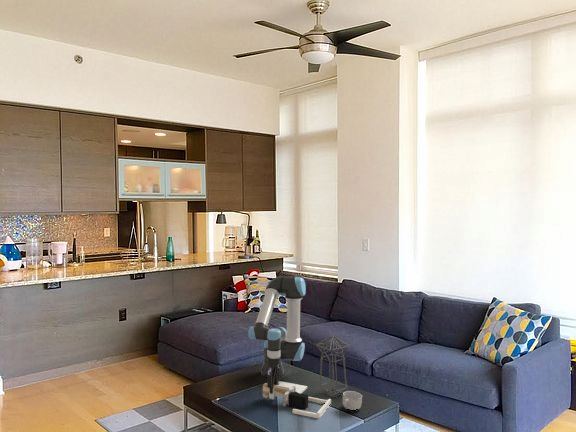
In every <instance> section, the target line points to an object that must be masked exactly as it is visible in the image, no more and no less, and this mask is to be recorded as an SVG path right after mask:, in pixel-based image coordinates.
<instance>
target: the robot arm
mask: <svg viewBox="0 0 576 432" xmlns="http://www.w3.org/2000/svg"><path fill="white" fill-rule="evenodd" d="M306 287H307V286H306V281H305V279H304V278H303V277H299V276H284V275H279V276H276V277H274V278H273V279H272V280H270V281H269V282H268V284H267V285H266V287H265V289H264V297H263V300H262V303H261V305H260V309H259V312H258V314H257V318H256V321H255V324H254V325H253V326H252V325H251V326H249V329H248V331H247V333H248V338H249V339H251V340H256V341H258V340H259V341H264V343H263V363H262V367H261V369H260V375H261V376H262V377H265V378H266V380H267V381H266V383H267V387H268V388H270V392H269V397H268V398H269V399H270V400H275V398H277V397H278V395H276V394H274V385H279V381H280V378H281V377H283V376H284V375H285V370H284V366H283V363H282V360H283V361H284V360H285V361H292V362H296V361H297V362H300V361H302V359H303V357H304V353H305V350H306V349H305V348H306V347H305V346H306V345H305V344H306V343H305V342H303V339H302V337H301V335H300V333H301V332H300V331H301V300H303V297H304V296H305V295H306V294H307V292H306V291H307V290H306V289H307V288H306ZM280 295H284V298H285V299H286V328H285V327H283V326H279V327H278V326H277V327H269V326H268V325H269V324H270V323H269V322H270V319H271V316H272V314H273V313H272V312H273V310H274V306H275V304H276V301H277V298H279V297H280Z"/></svg>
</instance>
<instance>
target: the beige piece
mask: <svg viewBox="0 0 576 432" xmlns="http://www.w3.org/2000/svg"><path fill="white" fill-rule="evenodd" d="M295 391H296V387H295V386H293V387H292V388H290V389H289V388H288V387H283V386H277V385H274V394H276V395H277V396H282V407H287V406H288V394H289V393H291V392H295ZM269 392H270V388H268V387H267V382H265V383H264V384H262V397H263V398H265V399H268V398H269Z"/></svg>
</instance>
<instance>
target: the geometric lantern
mask: <svg viewBox="0 0 576 432" xmlns="http://www.w3.org/2000/svg"><path fill="white" fill-rule="evenodd" d="M315 346H316V348H317V349H318V350H319V351H320V352H321V355H320V366H319V368H320V371H319V374H320V375H319V388H321V389H322V390H323V391H324V392H325V393H326V392H327V394H328V393H329V394H331V395H333V397H334V396H335V397H336V394H340V393H344V392H345V390H347V389H348V387H347V373H346V372H347V370H346V357H345V356H344V351H345V350H346V349H348V348H349V347H350V346H351V344H349V343H347V342H346V341H345V340H342V339H341V338H339V337H337V336H336V335H330V336H329V337H327V338H325V339H322V340H321V341H319V342H317V343H315ZM342 346H343V347H342ZM332 347H333V348H332ZM325 350H326V351H325ZM340 350H341V351H340ZM332 351H333V352H334V353H333V352H332ZM328 352H329V353H330V354H328ZM324 354H325V355H324ZM339 354H341V355H339ZM329 356H331V359H330V357H329ZM337 356H338V357H340V358H341V359H337ZM325 357H326V358H327V359H326V358H325ZM323 360H325V361H327V362H328V363H329V365H328V366H329V371H328V372H329V376H328V377H329V381H328V382H325V383H322V375H323V374H322V372H323ZM339 361H342V363H343V372H344V384H343V383H341V382H339V381H338V380H337V379H338V378H337V372H335V371H337V362H339ZM334 365H335V366H334ZM334 367H335V370H334ZM331 379H332V380H331ZM327 384H329V385H328V386H329V388H325V387H323V386H325V385H327ZM337 384H339V385H342V386H343V387H342V388H338V387H336V385H337ZM331 390H334V391H331ZM335 390H336V391H338V392H336V391H335ZM328 391H329V392H328ZM339 392H340V393H339Z"/></svg>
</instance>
